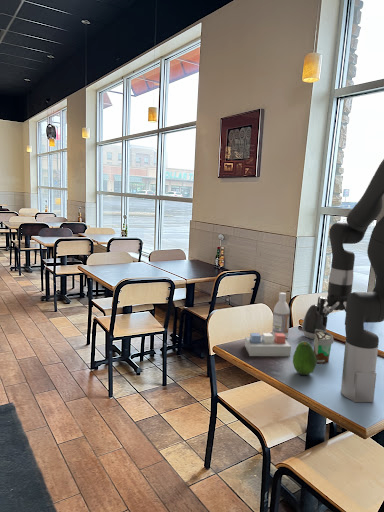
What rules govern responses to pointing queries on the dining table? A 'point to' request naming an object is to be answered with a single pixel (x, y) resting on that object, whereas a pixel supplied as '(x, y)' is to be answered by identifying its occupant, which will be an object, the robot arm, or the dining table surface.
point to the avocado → (304, 358)
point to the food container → (322, 346)
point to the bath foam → (281, 316)
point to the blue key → (255, 338)
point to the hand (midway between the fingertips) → (335, 326)
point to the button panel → (267, 348)
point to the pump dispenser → (312, 322)
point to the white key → (267, 338)
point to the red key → (279, 338)
